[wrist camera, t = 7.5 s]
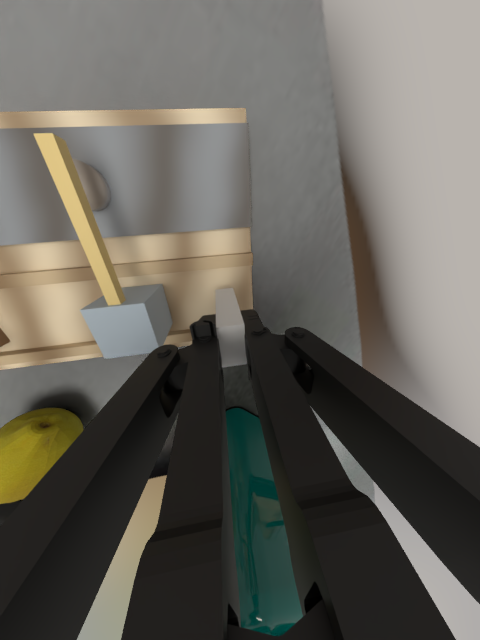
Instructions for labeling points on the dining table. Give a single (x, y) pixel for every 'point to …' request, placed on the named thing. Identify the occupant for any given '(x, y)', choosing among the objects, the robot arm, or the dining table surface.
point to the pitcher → (259, 532)
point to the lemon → (33, 448)
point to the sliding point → (107, 271)
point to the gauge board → (121, 221)
